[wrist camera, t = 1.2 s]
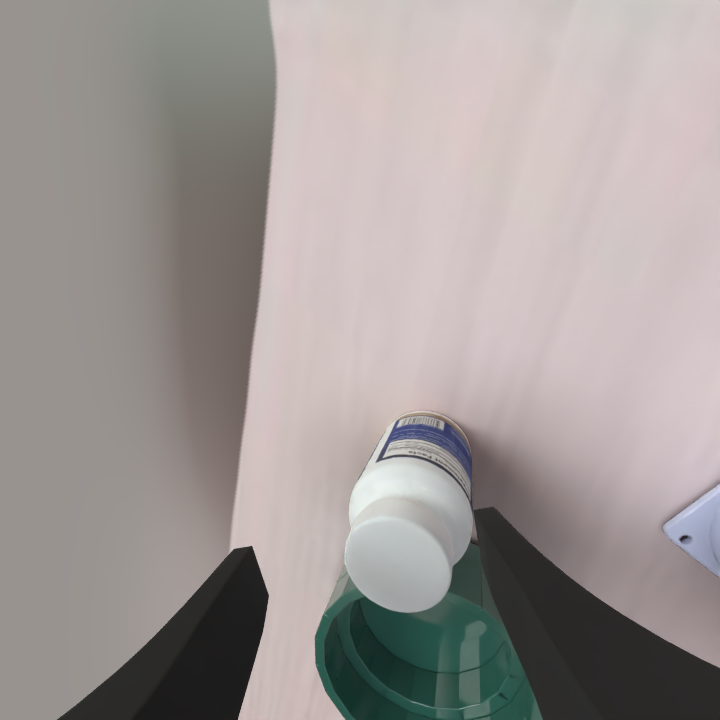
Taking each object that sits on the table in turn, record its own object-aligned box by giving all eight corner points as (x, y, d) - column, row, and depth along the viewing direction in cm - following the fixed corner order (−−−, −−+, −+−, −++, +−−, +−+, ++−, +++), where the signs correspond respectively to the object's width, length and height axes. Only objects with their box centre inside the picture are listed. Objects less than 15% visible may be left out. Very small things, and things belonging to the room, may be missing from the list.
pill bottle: (428, 507, 24) (401, 654, 15) (364, 447, 24) (299, 554, 15) (492, 453, 22) (508, 583, 13) (423, 389, 22) (389, 470, 13)
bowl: (576, 619, 23) (603, 710, 18) (444, 711, 27) (438, 805, 22) (413, 485, 24) (399, 538, 19) (310, 593, 28) (278, 658, 23)
